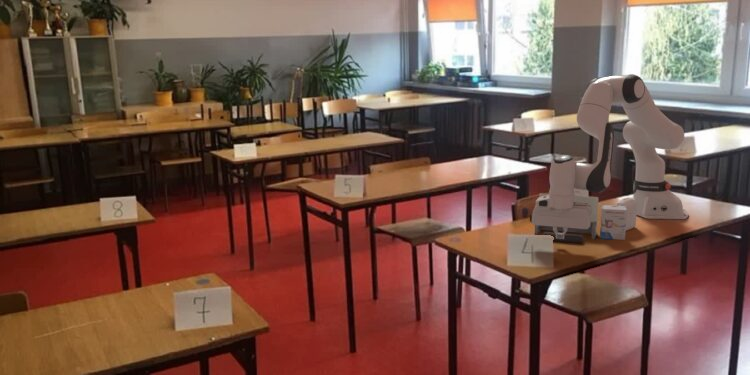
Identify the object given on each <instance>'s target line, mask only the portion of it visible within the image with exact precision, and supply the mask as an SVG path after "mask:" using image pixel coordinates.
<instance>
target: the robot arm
mask: <svg viewBox="0 0 750 375" xmlns="http://www.w3.org/2000/svg"><path fill="white" fill-rule="evenodd" d="M617 105H621V106H622V108H623V110H624V112H625V115H626V116H627V118H628V121H627V122H626V123H625V125H624V126H623V130H622V137H623V139H624V141H625V142H626V143H627V144H628V145H629V147H630V148H631V151H632V153H633V155H634V160H635V178H634V180H633V189H632V190H633V197H632V198H634V199H635V200H636V201H637V211H636V216H639V217H642V218H644V219H648V220H649V219H652V220H654V219H655V220H656V219H658V220H661V219H662V220H686V219H688V218H689V213H688V211H687V210H685V209H684V206H683V202H682V200H681V198H680V197H679V196H678V195H676V194H675V193H674V192H672V191H671V190H670V189H671V184H670V182H669V181H667V180H665V175H666V174H665V173H666V162H665V160H664V158H663V157H661V156H659V154H658V153H657V150H656V149H660V150H675V149H678V148H679V147H680V146H682V144H683V142H684V140H685V130H684V128H683V127H682V126H681V125H679V124H677V123H676V122H674V121H672V120H671V119H669V118H668V117H667V116H666V115H665V114H664V113H663V112H662V111H661V110H660V109H659V108H658V106H657V104H655V101H654V99H653V97H652V95H651V93H650V91H649V89H648V88H647V85H645V82H644V80H643V79H642V78H641V76H639V75H636V74H635V73H630V74H625V75H623V74H621V75H620V74H615V75H610V76H604V77H603V76H602V77H601V76H600V77H596V78H593V79H591V80H590V81H589V82H588V84H587V85H586V89H585V92H584V94H583V96H582V99H581V101H580V103H579V106H578V110H577V114H576V122H577V124H578V126H579V128H580V129H581V130H582V131H583V132H585V133H586V134H588V135H589V136H591V137H594V138H595V139H597V140H598V149H597V157H596V162H595V163H586V162H579V161H575V158H574V157H573V156H572V155H568V154H562V155H557V156H555V157H553V158H552V160H551V164H550V169H549V178H548V179H549V185H550V187H549V191H548V194H549V195H546V196H542V197H537V199H536V200H535V206H534V207H533V210H532V214H531V215H532V221H531V223H532V225H534V226H535V225H541V226H553V233H555V234H556V238H557V239H564V237H565V234H567V233H568V232H567V230H568V228H577V229H588V228H589V227H590V215H591V213H592V207H591V206H590V205H589V204H588V203H579V202H574V199H575V191H574V188H575V189H581V190H588V192H591V193H595V194H601V193H602V192H604V191H605V190H607V189H608V188H609V187H610V184H611V180H612V169H611V167H612V159H613V151H614V140H615V131H614V126H613V125H612V124H611V123H610V114H611V111H612V110H611V109H612V106H617ZM557 227H563V230H565V231H564V232H563V231H562V232H559V231H557Z"/></svg>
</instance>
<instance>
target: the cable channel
mask: <svg viewBox="0 0 750 375" xmlns="http://www.w3.org/2000/svg"><path fill="white" fill-rule="evenodd" d="M597 226H598V221H597V222H590V227H589V228H588V229H577V228H568V230H567V232H566V233H575V234H576V233H578V234H587V235H591V240H596V236H597V230H598V229H597ZM541 230H542V231H549V232H550V231H553V226H541V225H534V235H539V234H540V232H541ZM557 231H558V232H562V233H563V232H564V231H565V230H563V227H557ZM553 232H554V231H553ZM538 233H539V234H538Z"/></svg>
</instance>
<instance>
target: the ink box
mask: <svg viewBox="0 0 750 375" xmlns="http://www.w3.org/2000/svg"><path fill="white" fill-rule="evenodd" d="M600 212H601V214H600V227H599V228H600V231H599V236H600V238H601V239H603V240H619V241H620V240H622V241H625V240H626V217H627V209H626V207H625V206H616V205H611V204H610V205H609V204H608V205H606V204H603V205H601V210H600Z"/></svg>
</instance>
